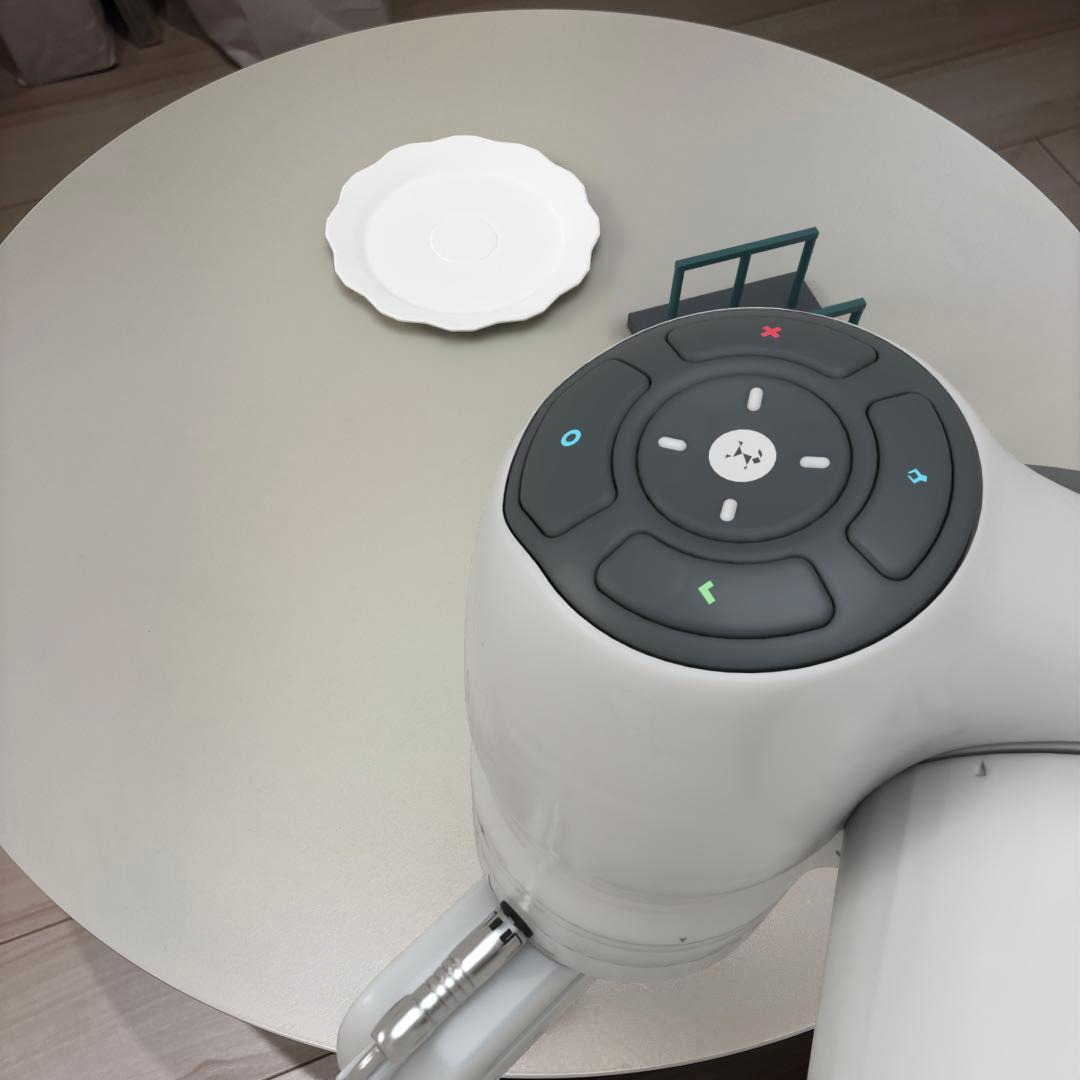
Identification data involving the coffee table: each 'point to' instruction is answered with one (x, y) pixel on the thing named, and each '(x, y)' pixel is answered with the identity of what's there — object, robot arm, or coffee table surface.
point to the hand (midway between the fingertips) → (598, 921)
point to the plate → (462, 233)
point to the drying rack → (748, 286)
